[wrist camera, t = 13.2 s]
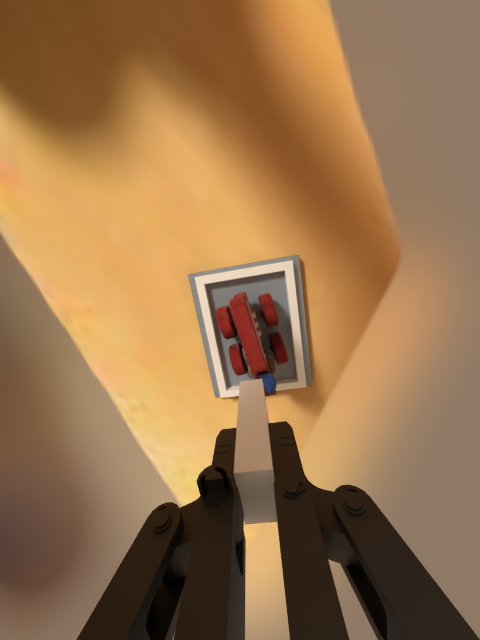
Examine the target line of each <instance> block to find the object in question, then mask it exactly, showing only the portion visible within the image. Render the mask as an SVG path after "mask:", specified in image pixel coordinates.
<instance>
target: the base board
mask: <svg viewBox="0 0 480 640" xmlns="http://www.w3.org/2000/svg"><path fill="white" fill-rule="evenodd" d="M188 277H189V281H190V286H191V290H192V295H193V299H194V304H195V308H196V313H197V317H198V322H199V326H200V331H201V335H202V340H203V344H204V349H205V353H206V358H207V362H208V367H209V371H210V376H211V380H212V385H213V389H214V393H215V398H218V397H221V398H225V397H233V396H239V386H240V382H241V381H248V380H256V379H255V378H254V377H252V375H251V374H250V372H249V369H248V373H246V374H243V375H240V376H237V375H236V374H235V372H234V370H233V368H232V365H231V362H230V357H229V346H230V345H233V344H236V343H240V344H241V345H242V343H241V340H240V337H239V334H238V331H237V336H236V337H235V338H231V339H225V338H224V337H223V335H222V333H221V331H220V328H219V326H218V322H217V318H216V310H217V309H218V308H220V307H223V306H229V302H230V300H231V299H233V298H234V295H236V294H239V293H242V292H246V294H247V297H248V300H249V303H250V306H251V307H252V308H253V310H256V309H261V306H260V303H259V300H258V297H259V296H260V295H263V294H266V293H269V294H270V295H271V297H272V300H273V303H274V306H275V309H276V312H277V316H278V320H279V324H278V325H276V326H273V327H270V328H269V327H267V325H266V322H265V319H264V316H261V317H258V318H257V322H258V325H259V328H260V331H261V340H262V344H263V345H265V346H267V347H270V346H271V343H270V339H269V335H270V334H272V333H276V332H279V333H280V334H281V336H282V339H283V342H284V345H285V348H286V352H287V356H288V362H287V363H284V364H281V365H278V364H277V362H276V360H275V372H274V374H273V376H274V377H275V379H276V383H277V386H276V391H281V390H289V389H296V388H304V387H306V386H312V379H311V369H310V359H309V349H308V339H307V330H306V320H305V310H304V300H303V290H302V281H301V271H300V261H299V255H295V256H289V257H283V258H278V259H272V260H266V261H260V262H255V263H249V264H243V265H238V266H232V267H226V268H221V269H215V270H209V271H203V272H198V273H192V274H188ZM242 347H243V346H242Z"/></svg>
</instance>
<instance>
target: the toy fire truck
mask: <svg viewBox="0 0 480 640" xmlns="http://www.w3.org/2000/svg"><path fill="white" fill-rule="evenodd" d="M258 300H259V303H260V306H261V309H256V310H253V308H252V307H251V306H250V303H249V300H248V297H247V294H246V292H242V293H239V294H236V295H234V298H233V299H231V300H230V302H229V306H223V307H220V308H218V309H217V310H216V318H217V322H218V326H219V328H220V331H221V333H222V335H223V337H224V338H225V339H231V338H235V337H236V336H237V331H238V334H239V337H240V340H241V343H242V345H241V344H240V343H236V344H233V345H230V346H229V357H230V362H231V365H232V368H233V370H234V372H235V374H236V375H237V376H240V375H243V374H246V373H248V369H249V372H250V374H251V375H252V377H254V378H255V379H262V381H263V387H264V393H265V396H269V395H274V394H276V386H277V383H276V379H275V377H274V376H273V374H274V372H275V360H276V362H277V364H278V365H281V364H284V363H287V362H288V356H287V352H286V348H285V345H284V342H283V339H282V336H281V334H280V333H279V332H276V333H272V334H270V335H269V339H270V343H271V346H270V347H267V346H265V345H263V344H262V340H261V331H260V328H259V325H258V322H257V318H258V317H261V316H264V319H265V322H266V325H267V327H269V328H270V327H273V326H276V325H278V324H279V320H278V316H277V312H276V309H275V306H274V303H273V300H272V297H271V295H270V294H269V293H266V294H263V295H260V296H259V297H258ZM242 346H243V347H242Z"/></svg>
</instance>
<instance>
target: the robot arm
mask: <svg viewBox="0 0 480 640" xmlns="http://www.w3.org/2000/svg"><path fill="white" fill-rule="evenodd" d="M197 485H198V488H199V492H200V495H201V496H200V497H199V498H198V499H197V500H195V501H194V502H192V503H190V504H187V505H185V506H183V507H181V508H179V507H178V505H177V504H175V503H172V502H171V503H170V502H168V503H165V504H162V505H159V506H158V507H157V508H156V509H154V510H153V511H152V513H151V514H150V515H149V517H148V518H147V520H146V522H145V523H144V525H143V527H142V528H141V530H140V532H139V533H138V535H137V537H136V539H135V540H134V542H133V544H132V545H131V547H130V549H129V551H128V552H127V554H126V556H125V557H124V559H123V561H122V563H121V564H120V566H119V568H118V569H117V571H116V573H115V575H114V576H113V578H112V580H111V582H110V583H109V585H108V587H107V588H106V590H105V592H104V594H103V595H102V597H101V599H100V600H99V602H98V604H97V605H96V607H95V609H94V611H93V612H92V614H91V616H90V618H89V619H88V621H87V623H86V624H85V626H84V628H83V630H82V631H81V633H80V635H79V636H78V638H77V640H172V638H173V636H174V640H245V535H244V531H243V526H244V521H245V524H254V523H266V522H278V532H279V541H280V550H281V559H282V568H283V578H284V587H285V596H286V604H287V614H288V624H289V632H290V640H349V637H348V633H347V629H346V626H345V622H344V618H343V615H342V611H341V607H340V603H339V599H338V595H337V591H336V588H335V584H334V580H333V576H332V572H331V569H330V565H329V561H328V559H329V560H332V561H335V562H338V563H340V564H341V566H342V568H343V570H344V572H345V574H346V576H347V578H348V580H349V582H350V584H351V586H352V588H353V590H354V592H355V594H356V596H357V598H358V600H359V602H360V604H361V606H362V608H363V610H364V612H365V614H366V616H367V618H368V621H369V623H370V625H371V626H372V629H373V631H374V633H375V635H376V637H377V638H378V640H480V639H479V638H478V637H477V635H476V634H475V633H474V631H473V630H472V629H471V628H470V626H469V625H468V624H467V622H466V621H465V620H464V618H463V617H462V616H461V614H460V613H459V612H458V611H457V609H456V608H455V607H454V605H453V604H452V603H451V602H450V600H449V599H448V598H447V596H446V595H445V594H444V592H443V591H442V590H441V588H440V587H439V586H438V585H437V583H436V582H435V581H434V579H433V578H432V577H431V576H430V574H429V573H428V572H427V570H426V569H425V568H424V566H423V565H422V564H421V562H420V561H419V560H418V559H417V557H416V556H415V555H414V553H413V552H412V551H411V549H410V548H409V547H408V546H407V544H406V543H405V542H404V540H403V539H402V538H401V536H400V535H399V534H398V533H397V531H396V530H395V529H394V527H393V526H392V525H391V523H390V522H389V521H388V520H387V518H386V517H385V516H384V515H383V513H382V512H381V510H380V509H379V508H378V507H377V505H376V504H375V503H374V502H373V500H372V499H371V497H370V496H368V494H366V492H364V491H363V490H361V489H360V488H358V487H356V486H352V485H342V486H340V487H338V488H337V489H336V490H335V492H332V491H327V490H323V489H320V488H318V487H316V486H314V485H313V484H311V482H309V481H308V480H307V478H306V476H305V474H304V471H303V468H302V464H301V460H300V456H299V452H298V448H297V445H296V441H295V437H294V433H293V429H292V427H291V426H290V425H289V424H288V423H287V421H285V422H276V423H269V419H268V412H267V406H266V399H265V393H264V387H263V381H262V379H256V380H248V381H241V382H240V386H239V401H238V415H237V428H231V429H223V430H221V431H220V433H219V434H218V436H217V438H216V444H215V449H214V455H213V461H212V465H211V466H208V467H207V468H205V469H204V470H203V471H202V472H201V473H200V475H199V477H198V479H197ZM174 633H175V635H174Z"/></svg>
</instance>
